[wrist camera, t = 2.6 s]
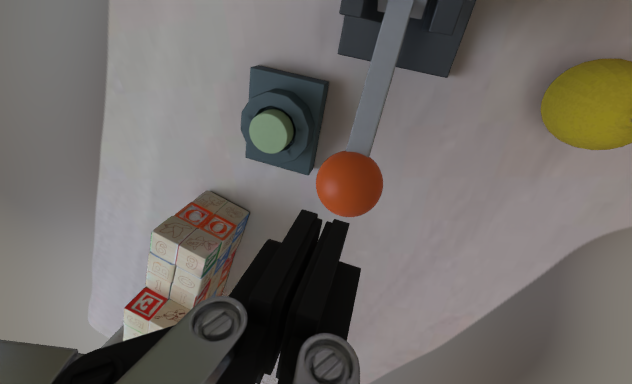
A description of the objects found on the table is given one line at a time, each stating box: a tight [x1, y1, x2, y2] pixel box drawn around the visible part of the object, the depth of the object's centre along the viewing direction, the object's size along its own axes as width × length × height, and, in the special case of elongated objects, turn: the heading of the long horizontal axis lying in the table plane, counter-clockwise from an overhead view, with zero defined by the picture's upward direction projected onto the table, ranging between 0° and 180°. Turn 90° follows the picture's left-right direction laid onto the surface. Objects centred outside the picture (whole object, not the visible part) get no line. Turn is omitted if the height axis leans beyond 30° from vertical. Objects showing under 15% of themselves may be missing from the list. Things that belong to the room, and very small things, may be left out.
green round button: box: [249, 109, 294, 154], centre depth 27 cm, size 4×4×2 cm
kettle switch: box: [316, 0, 428, 217], centre depth 14 cm, size 13×3×3 cm, turn 169°
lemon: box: [541, 59, 632, 150], centre depth 20 cm, size 6×6×8 cm
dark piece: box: [241, 65, 329, 175], centre depth 29 cm, size 9×7×4 cm
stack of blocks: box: [123, 191, 249, 341], centre depth 38 cm, size 21×6×12 cm, turn 157°
